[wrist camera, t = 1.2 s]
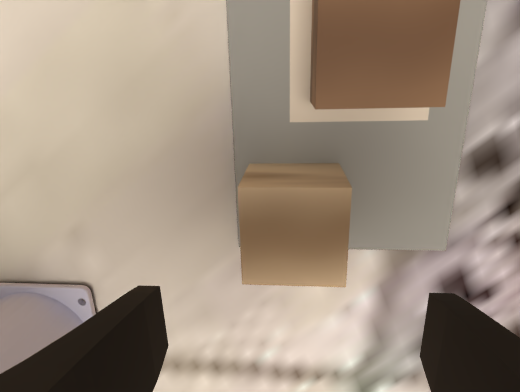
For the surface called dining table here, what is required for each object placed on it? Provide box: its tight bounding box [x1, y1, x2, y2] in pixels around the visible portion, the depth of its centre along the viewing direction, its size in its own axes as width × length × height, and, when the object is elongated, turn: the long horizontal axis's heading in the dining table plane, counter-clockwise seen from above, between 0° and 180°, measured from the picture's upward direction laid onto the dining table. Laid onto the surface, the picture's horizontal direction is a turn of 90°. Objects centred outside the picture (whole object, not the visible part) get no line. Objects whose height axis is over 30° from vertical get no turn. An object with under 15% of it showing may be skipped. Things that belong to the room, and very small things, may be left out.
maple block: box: [238, 163, 352, 287], centre depth 16 cm, size 4×4×4 cm
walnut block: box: [310, 0, 461, 109], centre depth 14 cm, size 4×4×4 cm
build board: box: [226, 0, 487, 251], centre depth 17 cm, size 14×11×1 cm
